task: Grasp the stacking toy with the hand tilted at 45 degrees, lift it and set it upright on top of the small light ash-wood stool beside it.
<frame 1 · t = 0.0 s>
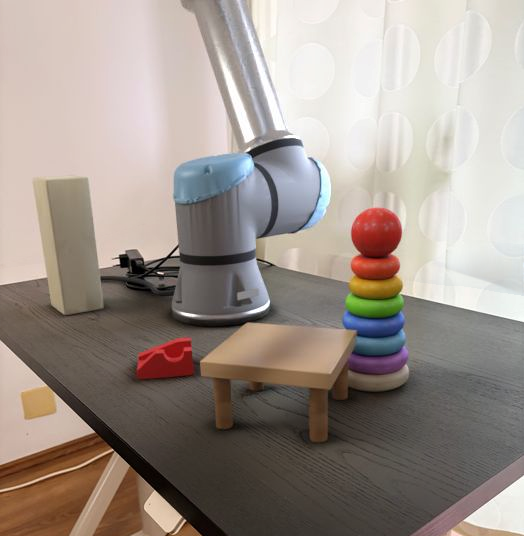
red notched block: (166, 371, 70), on the table
white rectangular block: (80, 307, 98), on the table
stool: (284, 410, 58), on the table
stacking toy: (371, 381, 65), on the table
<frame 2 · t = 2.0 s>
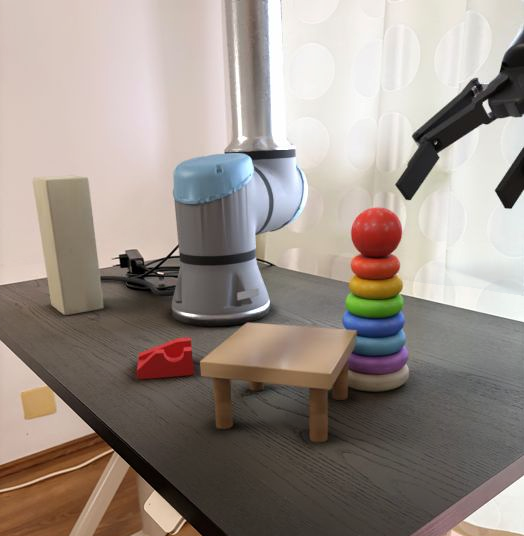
hand: (448, 196, 63), 19 cm above the table, tool tilted 45°, fingers open, 13 cm apart
nothing on the table moved.
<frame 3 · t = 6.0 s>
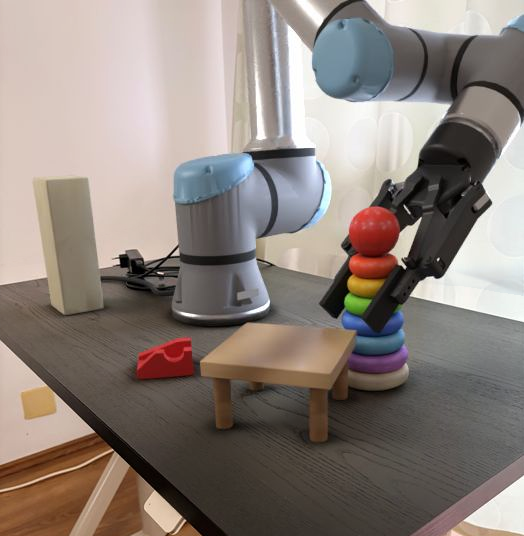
hand: (348, 317, 60), 8 cm above the table, tool tilted 45°, fingers closed on stacking toy, 6 cm apart
stacking toy: (371, 380, 65), on the table, touching gripper
everything else where it was.
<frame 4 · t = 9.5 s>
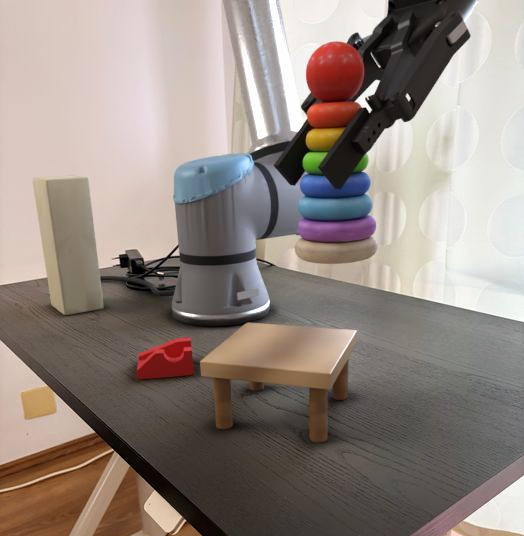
hand: (306, 176, 52), 22 cm above the table, tool tilted 45°, fingers closed on stacking toy, 6 cm apart
stacking toy: (335, 259, 57), point 14 cm above the table, touching gripper
everything else where it was.
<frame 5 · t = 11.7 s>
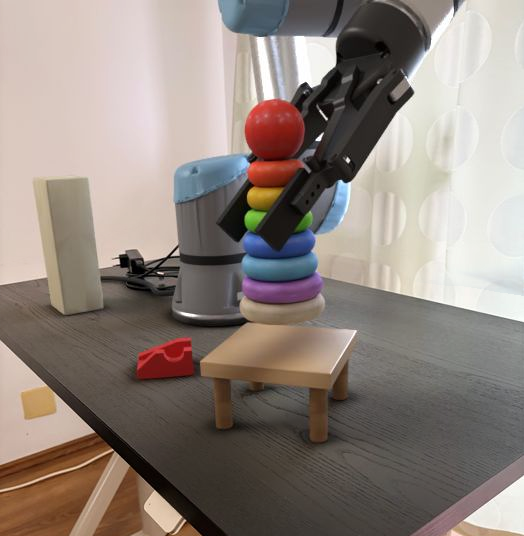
hand: (246, 236, 50), 18 cm above the table, tool tilted 45°, fingers closed on stacking toy, 6 cm apart
stacking toy: (282, 317, 55), point 10 cm above the table, touching gripper
everything else where it was.
when the fingers open (15 cm above the table, at t = 12.9 s): stacking toy stays where it is, resting on stool.
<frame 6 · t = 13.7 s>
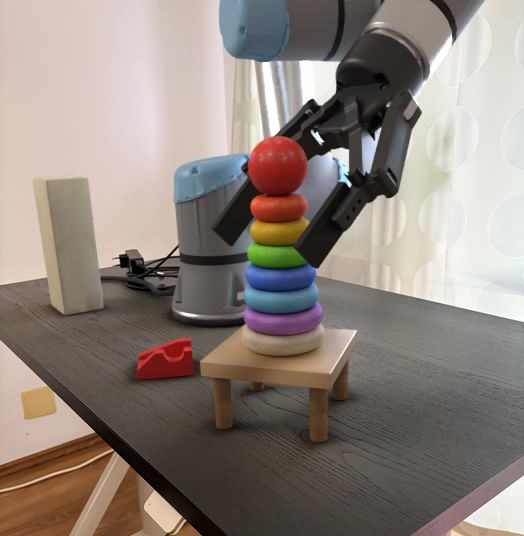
hand: (258, 247, 51), 17 cm above the table, tool tilted 45°, fingers open, 13 cm apart
stacking toy: (283, 346, 56), point 7 cm above the table, touching stool
everything else where it was.
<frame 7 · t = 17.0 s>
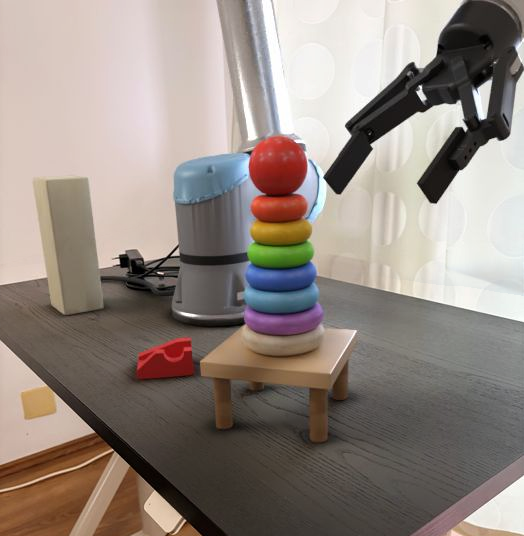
hand: (374, 189, 58), 20 cm above the table, tool tilted 45°, fingers open, 13 cm apart
nothing on the table moved.
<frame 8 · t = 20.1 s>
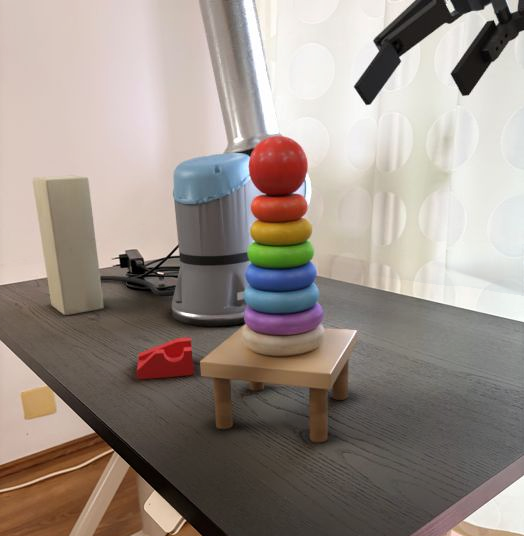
hand: (406, 91, 61), 30 cm above the table, tool tilted 45°, fingers open, 13 cm apart
nothing on the table moved.
at the end: stacking toy inside the target area on the stool (0.1 cm from its centre), point 6.8 cm above the stool's base; stacking toy tilted 0°; the gripper is holding nothing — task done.
